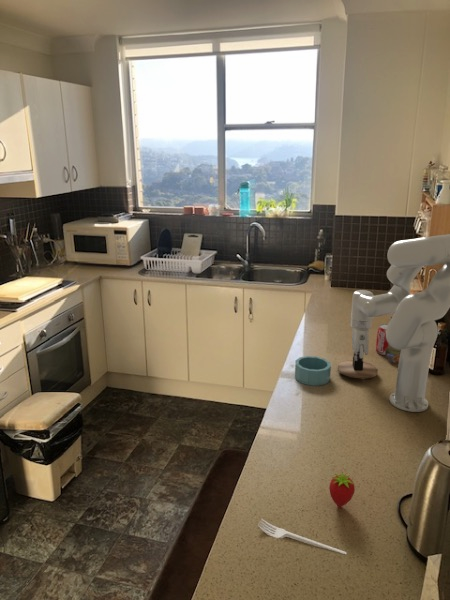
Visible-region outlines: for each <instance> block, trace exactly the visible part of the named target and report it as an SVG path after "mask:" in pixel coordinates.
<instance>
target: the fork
mask: <svg viewBox="0 0 450 600" xmlns="http://www.w3.org/2000/svg"><path fill="white" fill-rule="evenodd" d="M257 527H259V528H260V530H261V531H263V532H264V533H265V534H266V535H267V536H269V537H272V538H276V539H283V538H290V539H293V540H296V541H298V542H301V543H304V544H308V545H311V546H315V547H318V548H322V549H326V550H329V551H332V552H336V553H338V554H339V553H340V554H343V555H347V551H344V550H341V549H339V548H335V547H334V546H330V545H327V544H324V543H322V542H318V541H315V540H313V539H310V538H307V537H305V536H301V535H299V534H295V533H293V532H290V531H288V530H286V529H285V528H280V527H278V526H275V525H273V524H271V523H269V522H267V521H266V520H264V518H261V517H260V520H259V522H258V524H257Z"/></svg>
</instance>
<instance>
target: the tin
mask: <svg viewBox="0 0 450 600" xmlns="http://www.w3.org/2000/svg"><path fill="white" fill-rule="evenodd" d="M400 353H401V350H400V349H395V348H393V347H391V346H390V345H389V346H388V347H387V348H386V351H385V355H384V356H385V358H386V359H387V360H388V361H389V362H390V363H392V364H397V365H399V358H400Z"/></svg>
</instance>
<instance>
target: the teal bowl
mask: <svg viewBox="0 0 450 600" xmlns="http://www.w3.org/2000/svg"><path fill="white" fill-rule="evenodd" d="M294 366H295V367H294V379H295V380H296V381H297V382H298V383H300V384H303V385H306V386H312V387H313V386H314V387H317V386H324V385H326V384H328V383H329V382H330V379H331V372H332V371H331V369H332V365H331V362H330V361H329V360H327V359H325V358H323V357H319V356H314V355H313V356H312V355H305V356H301V357H299V358H296V360H295V364H294Z"/></svg>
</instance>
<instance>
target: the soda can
mask: <svg viewBox="0 0 450 600" xmlns="http://www.w3.org/2000/svg"><path fill="white" fill-rule="evenodd" d="M387 326H388V324H386V323H385V324H380V325H379V328H378V329H377V333H376V340H375V342H376V343H375V352H376V353H378V354H379V355H382V356H386V355H385V351H386V348H387V347H388V346H389V344H388V342H387V339H386V329H387Z"/></svg>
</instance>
